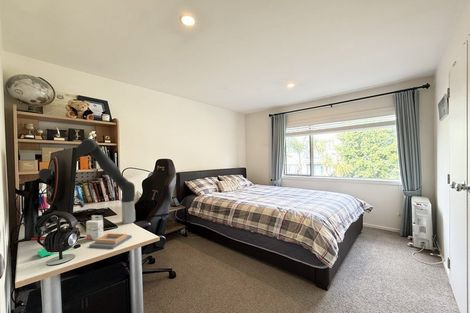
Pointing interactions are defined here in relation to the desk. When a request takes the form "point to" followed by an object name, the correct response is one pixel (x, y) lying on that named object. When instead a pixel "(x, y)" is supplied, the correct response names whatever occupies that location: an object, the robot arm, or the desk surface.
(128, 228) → the desk surface
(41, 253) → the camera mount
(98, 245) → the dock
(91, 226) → the ink cartridge box
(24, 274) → the desk surface
